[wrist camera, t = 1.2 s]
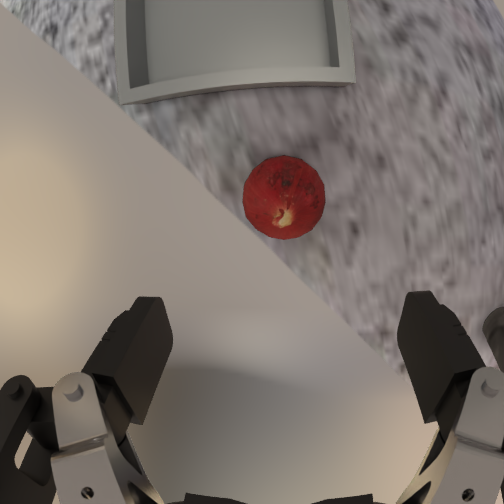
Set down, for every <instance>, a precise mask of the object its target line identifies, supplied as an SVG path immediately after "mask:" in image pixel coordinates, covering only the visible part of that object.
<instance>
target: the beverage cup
mask: <svg viewBox="0 0 504 504" xmlns="http://www.w3.org/2000/svg"><path fill="white" fill-rule="evenodd" d="M483 333H484V334H485V336H486V339H487V342H488V344H489V346H490V348H491V350H492V352H493V355H494V357H495V359H496V361H497V363H498V366H499V368H500V370H501V371H502V372H503V373H504V307H502V308H498V309H496V310H495V311H493V312H492V313H491V314H490V315H489V316H488V317H487V319H486V320H485V322H484V325H483Z"/></svg>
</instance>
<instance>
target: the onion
mask: <svg viewBox="0 0 504 504" xmlns="http://www.w3.org/2000/svg"><path fill="white" fill-rule="evenodd" d="M243 206H244V210H245V215H246V217H247V219H248V220H249V221H250V222H251V224H252V225H253V226H254V227H255V229H257V230H258V231H260V232H262V233H264V234H265V235H267V236H269V237H272V238H277V239H283V240H285V239H291V238H297V237H300V236H302V235H303V234H305V233H307V232H309V231H311V230H312V229H313V227H314V226H315V225H316V224H317V222H318V221H319V220H320V218H321V217H322V213H323V210H324V206H325V191H324V184H323V182H322V180H321V178H320V177H319V175H318V173H317V171H316V170H315V169H313V168H312V167H311V166H310V165H308V164H307V163H306V162H304V161H303V160H302V159H298V158H294V157H289V156H285V155H283V156H279V157H274V158H270V159H266V160H264V161H263V162H262V163H261V164H259V165H258V166H257V167H255V168H254V169H253V170H252V172H251V174H250V175H249V177H248V179H247V180H246V182H245V185H244V192H243Z"/></svg>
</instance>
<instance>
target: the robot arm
mask: <svg viewBox="0 0 504 504" xmlns="http://www.w3.org/2000/svg"><path fill="white" fill-rule="evenodd" d="M397 341H398V346H399V349H400V352H401V354H402V357H403V360H404V362H405V365H406V368H407V371H408V374H409V376H410V379H411V382H412V385H413V388H414V391H415V394H416V397H417V400H418V403H419V407H420V410H421V413H422V416H423V420H424V423H425V424H426V423H430V422H434V421H437V422H438V425H439V428H438V429H437V431H436V433H435V435H434V437H433V439H432V442H431V444H430V446H429V448H428V450H427V453H426V455H425V457H424V459H423V461H422V463H421V465H420V467H419V469H418V471H417V473H416V475H415V477H414V478H413V480H412V481H411V483H410V484H409V486H408V487H407V488H406V489H405V491H404V492H403V493H402V495H401V496H400V498H399V499H398V501H397V502H396V504H495V501H496V499H497V496H498V493H499V490H500V488H501V492H502V498H503V503H504V373H503V372H502V371H500V370H498V369H496V368H493V367H486V365H485V363H484V362H483V360H482V358H481V356H480V355H479V353H478V351H477V349H476V348H475V346H474V344H473V342H472V341H471V339H470V337H469V336H468V335H467V332H466V331H465V329H464V328H463V326H461V323H460V321H459V320H458V318H457V316H456V315H455V313H454V312H452V311H451V310H450V309H449V308H447V307H446V306H445V305H444V304H442V305H440V304H439V303H438V301H437V300H436V298H435V297H434V295H433V293H432V292H431V291H417V292H409V293H408V294H407V295H406V298H405V303H404V307H403V311H402V315H401V319H400V322H399V326H398V331H397ZM172 345H173V335H172V330H171V326H170V323H169V320H168V316H167V313H166V309H165V306H164V302H163V300H162V298H160V297H138V298H137V299H136V300H135V302H134V304H133V305H132V307H131V308H130V310H129V311H126V310H125V311H124V312H123V313H122V314H120V315H119V316H118V317H117V318H115V319H114V320H113V322H112V323H111V325H110V327H109V328H108V330H107V332H106V333H105V334H104V336H103V337H102V341H100V342H99V344H98V345H97V347H96V348H95V350H94V351H93V353H92V355H91V356H90V358H89V359H88V361H87V363H86V364H85V366H84V368H83V369H82V371H81V372H75V373H70V374H68V375H66V376H64V377H62V378H61V379H60V380H59V381H58V382H57V383H56V384H55V386H54V387H43V388H42V387H41V388H36V387H35V385H34V384H33V383H32V381H31V380H30V379H29V378H28V377H27V376H24V375H18V376H15V377H13V378H11V379H9V380H8V381H7V382H6V383H5V384H4V385H3V387H2V388H1V390H0V504H52V502H53V499H54V496H55V493H56V490H57V494H58V497H59V501H60V504H164V502H163V501H162V499H161V497H160V495H159V494H158V493H157V491H156V489H155V488H154V487H153V485H152V484H151V482H150V481H149V479H148V477H147V475H146V473H145V471H144V469H143V466H142V464H141V462H140V460H139V457H138V455H137V453H136V450H135V448H134V445H133V443H132V440H131V438H130V435H129V433H128V431H127V428H128V426H129V423H134V424H139V425H143V422H144V420H145V417H146V414H147V412H148V409H149V406H150V404H151V401H152V398H153V396H154V393H155V390H156V388H157V385H158V383H159V380H160V378H161V375H162V372H163V370H164V367H165V365H166V362H167V360H168V357H169V355H170V352H171V350H172ZM26 431H27V432H28V433H29V434H30V435H31V436H32V437H33V439H32V441H31V443H30V446H29V448H28V450H27V452H26V454H25V457H24V459H23V461H22V464H21V466H20V468H19V469H18V468H17V467H16V465H15V461H14V458H15V454H16V452H17V450H18V447H19V445H20V443H21V441H22V439H23V437H24V434H25V433H26ZM168 504H246V503H243V502H239V501H236V500H233V499H228V498H219V497H210V496H202V495H196V494H190V493H186V495H185V499H184V501H179V502H173V503H168ZM312 504H384V503H378V502H373V496H372V494H367V495H360V496H353V497H344V498H335V499H327V500H323V501H320V502H316V503H312Z"/></svg>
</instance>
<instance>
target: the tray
mask: <svg viewBox="0 0 504 504" xmlns="http://www.w3.org/2000/svg"><path fill="white" fill-rule="evenodd" d="M114 43H115V62H116V77H117V89H118V99H119V105H129V104H146V103H151V102H156V101H161V100H166V99H172V98H178V97H184V96H190V95H197V94H204V93H212V92H220V91H229V90H240V89H252V88H268V87H295V86H326V87H344V86H347V85H350V84H353V83H356V78H355V64H354V52H353V41H352V32H351V24H350V16H349V8H348V1H347V0H114Z"/></svg>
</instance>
